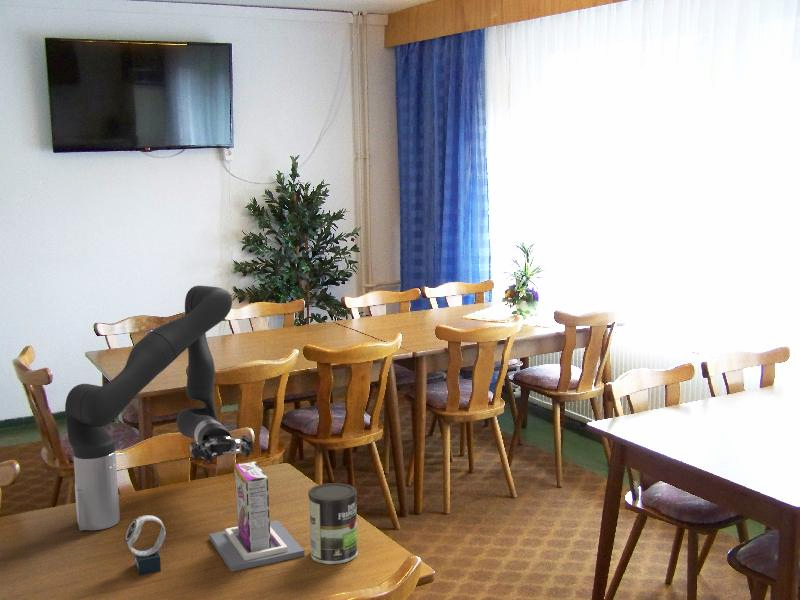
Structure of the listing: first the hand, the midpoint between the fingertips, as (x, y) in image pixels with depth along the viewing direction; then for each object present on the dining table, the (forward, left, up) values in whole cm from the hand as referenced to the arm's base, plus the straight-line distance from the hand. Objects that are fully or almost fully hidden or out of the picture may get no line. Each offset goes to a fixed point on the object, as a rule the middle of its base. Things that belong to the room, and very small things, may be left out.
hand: (229, 455), depth 194 cm
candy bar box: (+1, -14, -16) cm, 21 cm away
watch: (-22, -14, -17) cm, 31 cm away
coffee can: (+15, -26, -17) cm, 34 cm away
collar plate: (+1, -15, -17) cm, 22 cm away
